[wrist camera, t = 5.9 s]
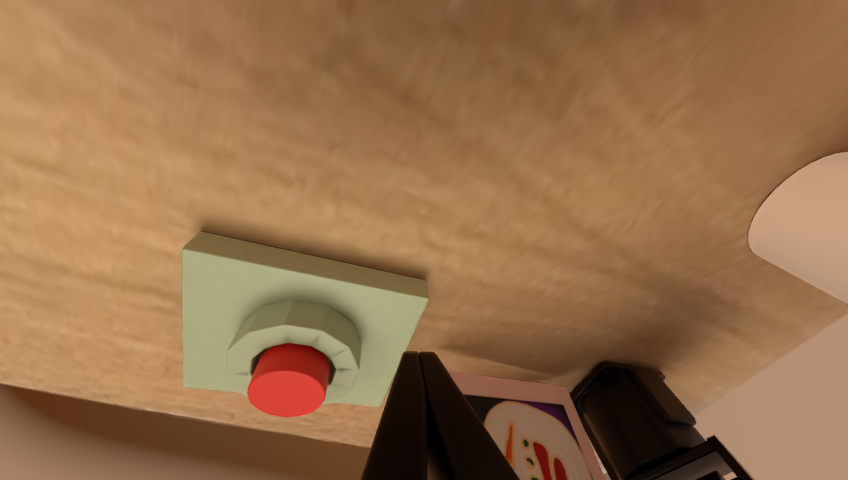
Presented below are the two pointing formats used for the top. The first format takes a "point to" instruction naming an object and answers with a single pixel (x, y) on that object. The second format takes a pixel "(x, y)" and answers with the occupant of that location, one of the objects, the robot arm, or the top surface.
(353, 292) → the button housing
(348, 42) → the top surface
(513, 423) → the greeting card
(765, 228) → the cylindrical container
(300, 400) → the button
